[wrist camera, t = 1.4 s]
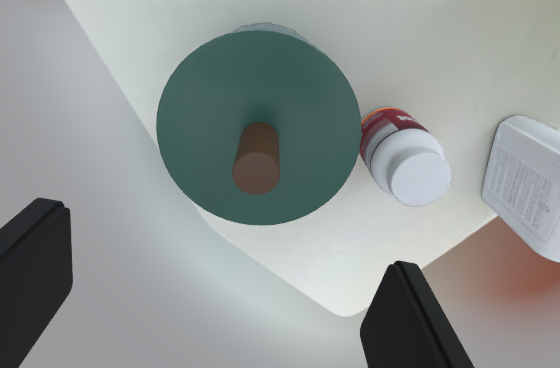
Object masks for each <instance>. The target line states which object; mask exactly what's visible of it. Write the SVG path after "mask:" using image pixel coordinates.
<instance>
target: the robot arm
mask: <svg viewBox="0 0 560 368" xmlns="http://www.w3.org/2000/svg"><path fill="white" fill-rule="evenodd" d="M70 221H71V220H70V210H69V208H65V207H64V204H63V202H61V201H56V200H50V199H44V198H37V199H35V200H34V201H33V202H32V203H30V204H29V205H28V206H27V207H26V208H24V209H23V210H22V211H21V212H20V213H19V214H18V215H16V216H15V217H14V218H13V219H11V220H10V221H9V222H8V223H7V224H6V225H4V226H3V227H2V228H1V229H0V368H18V367H19V366H20V364H21V363H22V362H23V360H24V358H25V357H26V356H27V354H28V353H29V351H30V350H31V348H32V347H33V346H34V344H35V343H36V341H37V340H38V338H39V337H40V335H41V334H42V332H43V331H44V330H45V328H46V327H47V325H48V324H49V322H50V321H51V319H52V318H53V317H54V315H55V314H56V312H57V311H58V309H59V308H60V306H61V305H62V303H63V302H64V301H65V299H66V298H67V296H68V295H69V293H70V291H71V288H72V283H73V274H72V247H71V222H70ZM360 338H361V342H362V345H363V349H364V353H365V357H366V361H367V364H368V368H474V366H473V364H472V362H471V361H470V359H469V357H468V355H467V353H466V352H465V350H464V348H463V346H462V344H461V342H460V341H459V339H458V337H457V335H456V333H455V332H454V330H453V328H452V326H451V324H450V323H449V321H448V319H447V317H446V315H445V314H444V312H443V310H442V308H441V306H440V304H439V303H438V301H437V299H436V297H435V295H434V294H433V292H432V290H431V288H430V286H429V284H428V283H427V281H426V279H425V277H424V276H423V274H422V272H421V270H420V268H419V267H418V265H417V264H415V263H409V262H403V261H396V262H395V263H394V265H393V264H390V265H389V266H388V268H387V270H386V272H385V274H384V276H383V279H382V281H381V283H380V285H379V287H378V289H377V292H376V294H375V296H374V298H373V300H372V303H371V305H370V307H369V309H368V311H367V313H366V316H365V318H364V320H363V322H362V324H361V328H360Z"/></svg>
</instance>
